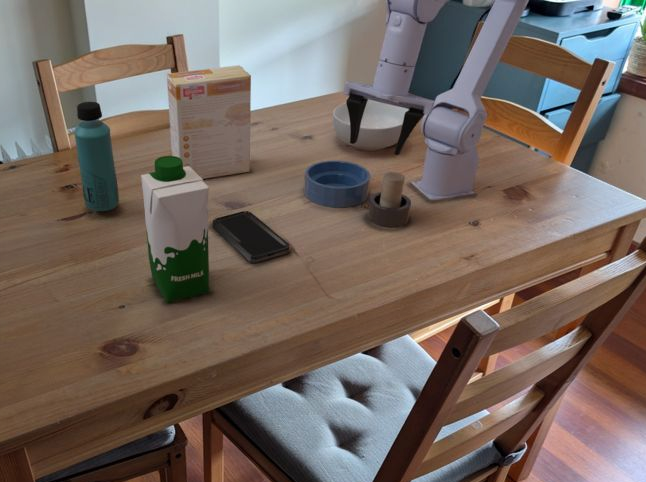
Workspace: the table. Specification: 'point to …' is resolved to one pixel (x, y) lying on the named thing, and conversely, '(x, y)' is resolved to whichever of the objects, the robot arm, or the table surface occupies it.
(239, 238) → the phone
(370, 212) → the mortar
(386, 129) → the cereal bowl
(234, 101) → the coffeecake box
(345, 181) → the bowl
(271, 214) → the table surface
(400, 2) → the robot arm
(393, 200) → the pestle
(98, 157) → the beverage bottle
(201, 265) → the milk carton
